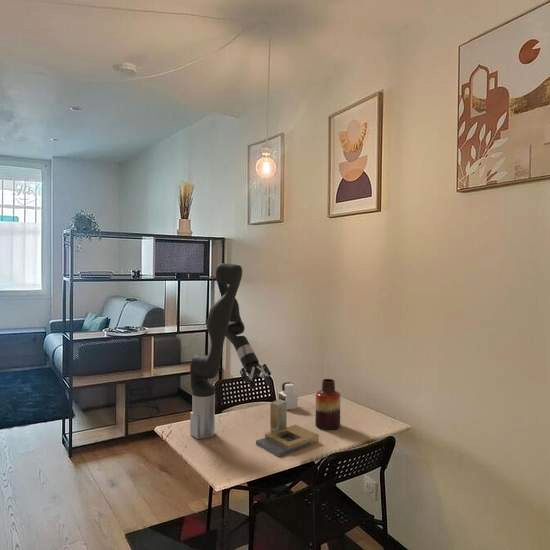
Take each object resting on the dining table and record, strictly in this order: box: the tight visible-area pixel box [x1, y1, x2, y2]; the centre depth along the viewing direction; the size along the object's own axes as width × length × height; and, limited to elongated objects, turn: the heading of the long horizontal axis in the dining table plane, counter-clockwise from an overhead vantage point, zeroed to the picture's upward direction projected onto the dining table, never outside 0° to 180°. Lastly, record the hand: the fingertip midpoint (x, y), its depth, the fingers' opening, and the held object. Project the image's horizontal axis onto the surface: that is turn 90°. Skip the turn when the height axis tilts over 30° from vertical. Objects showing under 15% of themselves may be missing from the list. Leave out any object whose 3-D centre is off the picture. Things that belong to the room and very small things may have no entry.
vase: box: [314, 378, 342, 432], centre depth 195 cm, size 11×11×20 cm
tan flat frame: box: [255, 424, 320, 458], centre depth 177 cm, size 21×14×3 cm, turn 129°
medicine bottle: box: [278, 381, 299, 411], centre depth 219 cm, size 7×7×12 cm
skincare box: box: [269, 398, 288, 432], centre depth 190 cm, size 6×4×12 cm
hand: (262, 386), depth 199 cm, fingers open, 8 cm apart
